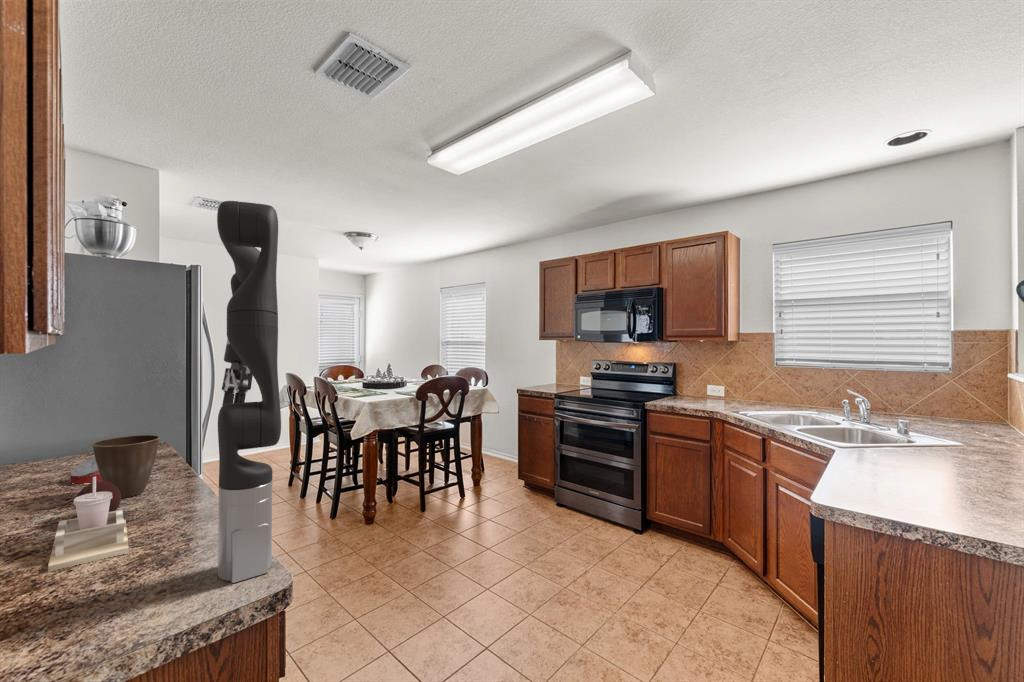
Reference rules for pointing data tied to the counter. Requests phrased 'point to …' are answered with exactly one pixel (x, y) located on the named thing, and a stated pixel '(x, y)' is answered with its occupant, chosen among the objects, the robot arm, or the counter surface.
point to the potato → (104, 487)
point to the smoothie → (92, 508)
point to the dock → (88, 542)
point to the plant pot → (127, 462)
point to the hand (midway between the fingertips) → (232, 407)
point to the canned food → (85, 472)
